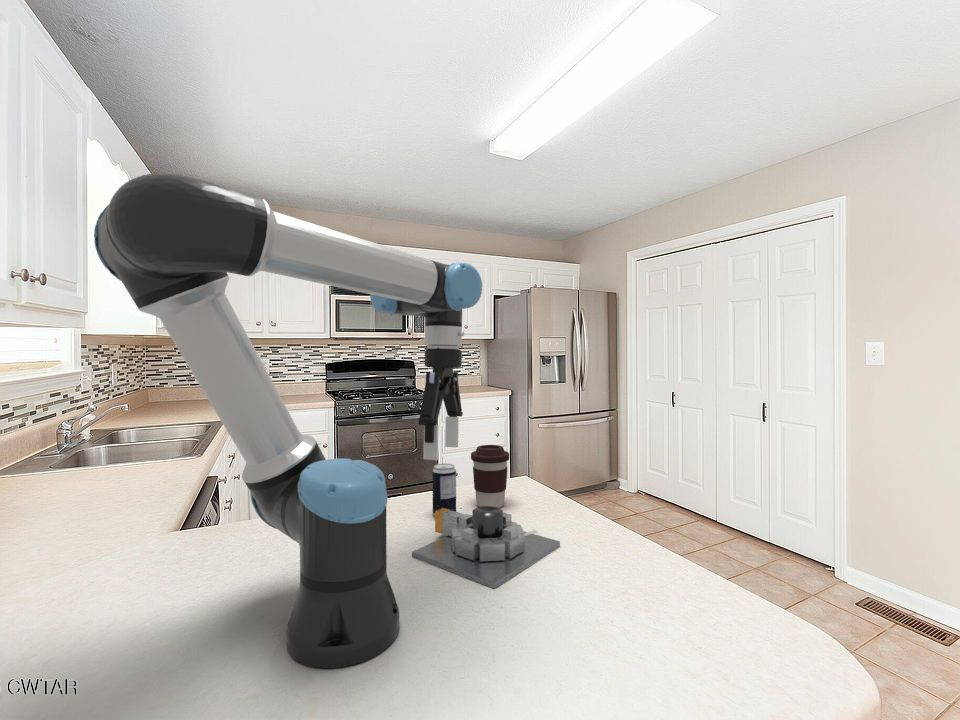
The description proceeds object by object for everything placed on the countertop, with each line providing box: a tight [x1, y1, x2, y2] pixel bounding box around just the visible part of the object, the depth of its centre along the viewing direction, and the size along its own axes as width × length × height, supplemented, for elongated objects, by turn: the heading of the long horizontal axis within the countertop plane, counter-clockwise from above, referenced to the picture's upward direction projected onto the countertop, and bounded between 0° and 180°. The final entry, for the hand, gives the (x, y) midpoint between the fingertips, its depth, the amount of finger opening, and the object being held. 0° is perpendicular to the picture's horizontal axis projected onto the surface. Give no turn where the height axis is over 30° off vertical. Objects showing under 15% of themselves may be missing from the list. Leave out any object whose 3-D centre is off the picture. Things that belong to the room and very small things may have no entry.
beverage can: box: [431, 463, 457, 515], centre depth 114 cm, size 6×6×12 cm
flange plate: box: [411, 506, 561, 590], centre depth 95 cm, size 24×23×8 cm
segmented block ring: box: [434, 508, 526, 562], centre depth 95 cm, size 14×20×5 cm
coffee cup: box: [470, 444, 510, 509], centre depth 122 cm, size 10×10×15 cm
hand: (441, 453), depth 96 cm, fingers open, 13 cm apart
